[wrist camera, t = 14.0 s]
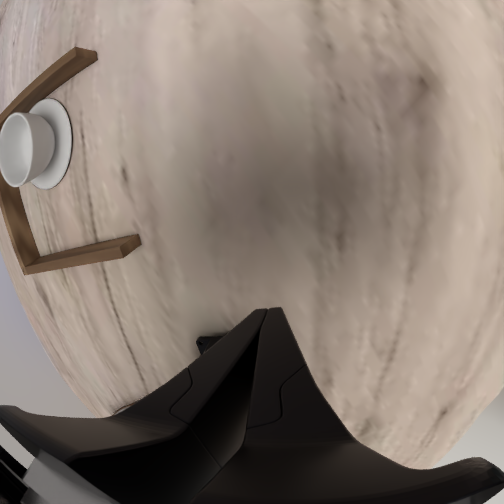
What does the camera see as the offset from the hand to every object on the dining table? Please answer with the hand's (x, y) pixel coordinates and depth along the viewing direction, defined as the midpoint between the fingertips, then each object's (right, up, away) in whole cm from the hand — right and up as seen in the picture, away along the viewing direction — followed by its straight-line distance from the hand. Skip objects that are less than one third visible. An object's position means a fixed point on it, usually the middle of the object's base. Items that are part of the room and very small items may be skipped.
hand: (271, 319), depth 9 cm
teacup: (-22, +14, +13) cm, 29 cm away
